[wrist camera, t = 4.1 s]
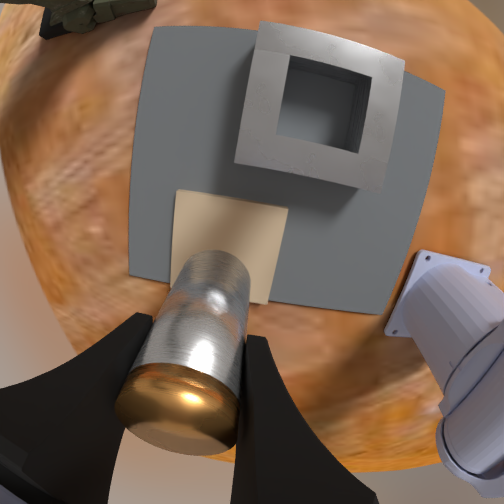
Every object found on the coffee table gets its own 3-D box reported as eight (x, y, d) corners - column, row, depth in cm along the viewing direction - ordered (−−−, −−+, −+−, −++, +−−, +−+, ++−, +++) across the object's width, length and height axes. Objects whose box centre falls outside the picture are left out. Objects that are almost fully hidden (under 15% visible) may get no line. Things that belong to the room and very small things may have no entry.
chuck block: (384, 69, 14) (405, 61, 11) (362, 183, 17) (380, 194, 14) (260, 37, 14) (260, 20, 11) (238, 158, 17) (233, 162, 14)
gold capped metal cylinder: (259, 260, 13) (252, 413, 6) (241, 318, 14) (224, 463, 7) (186, 241, 13) (108, 374, 5) (176, 301, 14) (120, 435, 7)
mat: (442, 91, 14) (445, 90, 14) (380, 312, 21) (382, 314, 21) (156, 28, 14) (154, 26, 13) (131, 272, 21) (129, 274, 20)
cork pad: (287, 206, 18) (288, 209, 17) (266, 299, 21) (267, 304, 20) (179, 189, 18) (176, 191, 17) (172, 283, 20) (170, 287, 20)
